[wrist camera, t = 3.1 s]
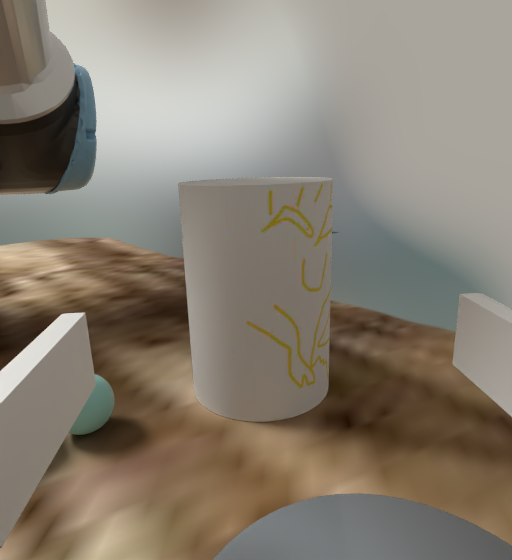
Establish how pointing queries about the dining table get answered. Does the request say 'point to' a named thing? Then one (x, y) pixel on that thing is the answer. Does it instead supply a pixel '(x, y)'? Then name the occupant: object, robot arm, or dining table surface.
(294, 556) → the metal disc
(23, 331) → the dining table surface
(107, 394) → the marble
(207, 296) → the cup
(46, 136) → the robot arm
